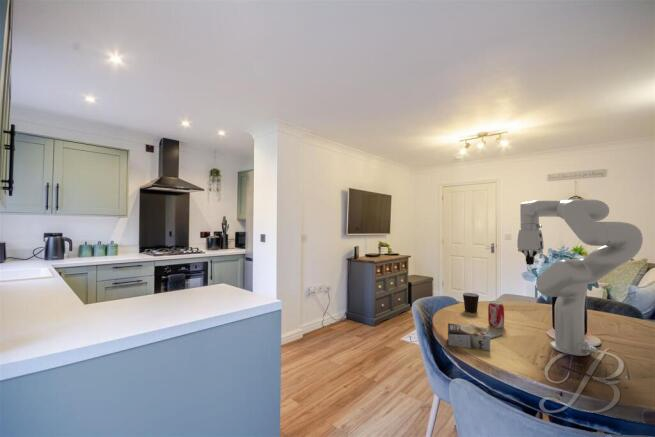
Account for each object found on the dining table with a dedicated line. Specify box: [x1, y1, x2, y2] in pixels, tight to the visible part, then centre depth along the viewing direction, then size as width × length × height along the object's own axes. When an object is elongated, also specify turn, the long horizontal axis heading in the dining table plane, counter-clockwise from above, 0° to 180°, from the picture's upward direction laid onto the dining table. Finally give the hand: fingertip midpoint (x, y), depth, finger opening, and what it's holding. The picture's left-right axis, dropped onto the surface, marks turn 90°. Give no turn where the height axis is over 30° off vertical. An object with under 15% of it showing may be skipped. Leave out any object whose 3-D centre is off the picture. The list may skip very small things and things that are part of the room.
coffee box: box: [447, 323, 491, 352], centre depth 128 cm, size 9×6×16 cm
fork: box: [560, 364, 620, 385], centre depth 102 cm, size 3×16×2 cm, turn 30°
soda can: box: [487, 300, 505, 329], centre depth 150 cm, size 7×7×12 cm
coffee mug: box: [462, 292, 480, 314], centre depth 174 cm, size 12×9×10 cm
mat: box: [467, 324, 502, 340], centre depth 140 cm, size 15×16×1 cm
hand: (529, 264), depth 145 cm, fingers closed
